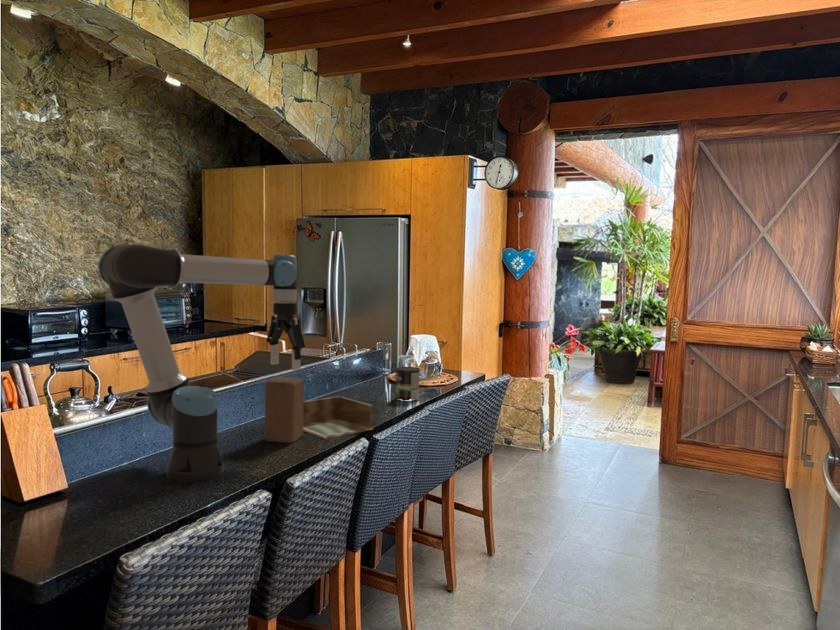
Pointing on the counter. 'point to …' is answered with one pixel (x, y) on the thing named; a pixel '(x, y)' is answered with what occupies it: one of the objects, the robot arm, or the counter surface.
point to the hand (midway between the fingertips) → (285, 366)
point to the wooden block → (284, 409)
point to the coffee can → (407, 383)
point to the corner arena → (336, 417)
